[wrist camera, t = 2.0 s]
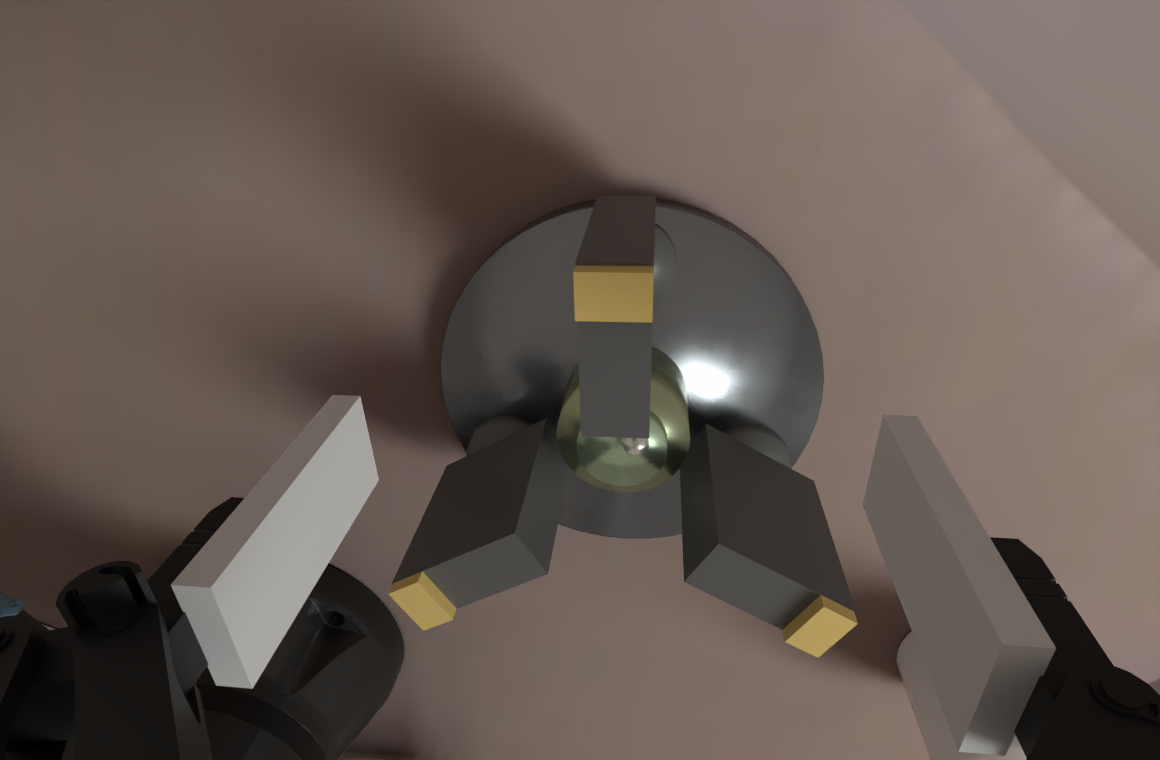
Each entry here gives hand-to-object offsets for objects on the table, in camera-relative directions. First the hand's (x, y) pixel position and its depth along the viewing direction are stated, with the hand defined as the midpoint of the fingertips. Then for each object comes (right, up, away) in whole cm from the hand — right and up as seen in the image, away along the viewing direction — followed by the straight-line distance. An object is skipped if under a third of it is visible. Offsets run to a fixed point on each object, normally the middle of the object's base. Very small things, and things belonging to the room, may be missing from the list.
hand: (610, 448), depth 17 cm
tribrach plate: (+2, +2, +18) cm, 18 cm away
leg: (+1, +7, +13) cm, 15 cm away
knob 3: (+8, -2, +17) cm, 19 cm away
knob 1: (-4, -2, +19) cm, 19 cm away
